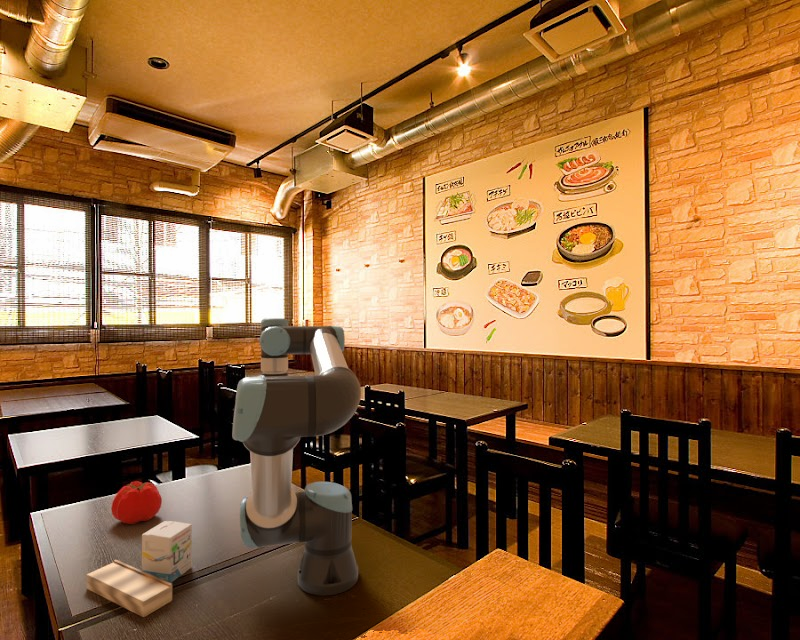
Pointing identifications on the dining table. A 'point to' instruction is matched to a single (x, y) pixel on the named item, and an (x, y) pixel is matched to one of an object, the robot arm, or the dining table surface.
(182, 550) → the ink box
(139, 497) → the tomato
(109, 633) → the dining table surface
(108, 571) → the plank
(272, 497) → the robot arm
